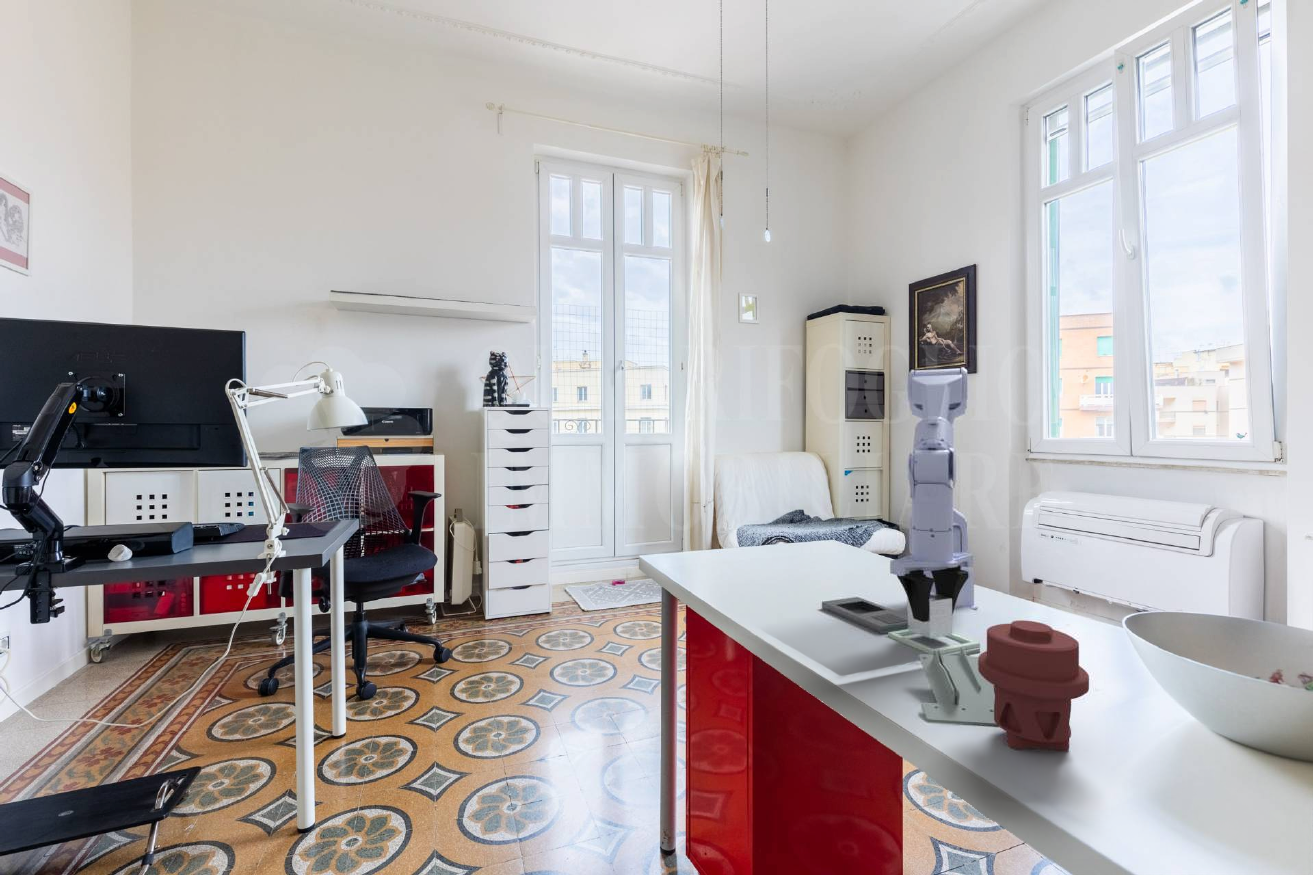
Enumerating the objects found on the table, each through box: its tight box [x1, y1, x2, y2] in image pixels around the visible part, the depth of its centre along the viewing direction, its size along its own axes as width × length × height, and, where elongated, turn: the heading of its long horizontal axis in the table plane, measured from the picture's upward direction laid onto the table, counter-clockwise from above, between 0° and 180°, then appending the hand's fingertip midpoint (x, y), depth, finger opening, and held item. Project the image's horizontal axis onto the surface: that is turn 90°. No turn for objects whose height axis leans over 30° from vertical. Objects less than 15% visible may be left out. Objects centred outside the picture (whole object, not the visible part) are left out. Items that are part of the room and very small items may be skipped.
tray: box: [887, 629, 981, 656], centre depth 92 cm, size 9×9×2 cm
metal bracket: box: [918, 647, 1072, 730], centre depth 74 cm, size 14×6×15 cm
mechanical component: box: [977, 620, 1090, 752], centre depth 65 cm, size 12×10×10 cm
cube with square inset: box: [906, 592, 953, 639], centre depth 93 cm, size 4×4×6 cm
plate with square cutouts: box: [821, 596, 908, 635], centre depth 104 cm, size 8×15×2 cm, turn 22°
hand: (932, 617), depth 92 cm, fingers closed on cube with square inset, 4 cm apart
